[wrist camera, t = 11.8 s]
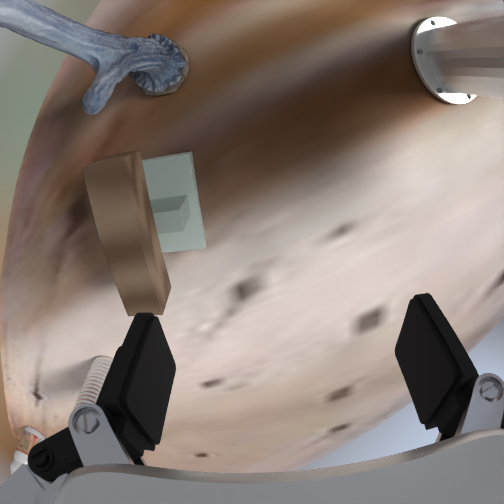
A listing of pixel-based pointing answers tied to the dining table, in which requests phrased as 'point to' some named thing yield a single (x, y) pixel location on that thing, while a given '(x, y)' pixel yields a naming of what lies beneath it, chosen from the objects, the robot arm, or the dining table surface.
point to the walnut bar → (128, 231)
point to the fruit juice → (25, 447)
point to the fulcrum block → (175, 202)
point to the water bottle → (94, 381)
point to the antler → (101, 51)
